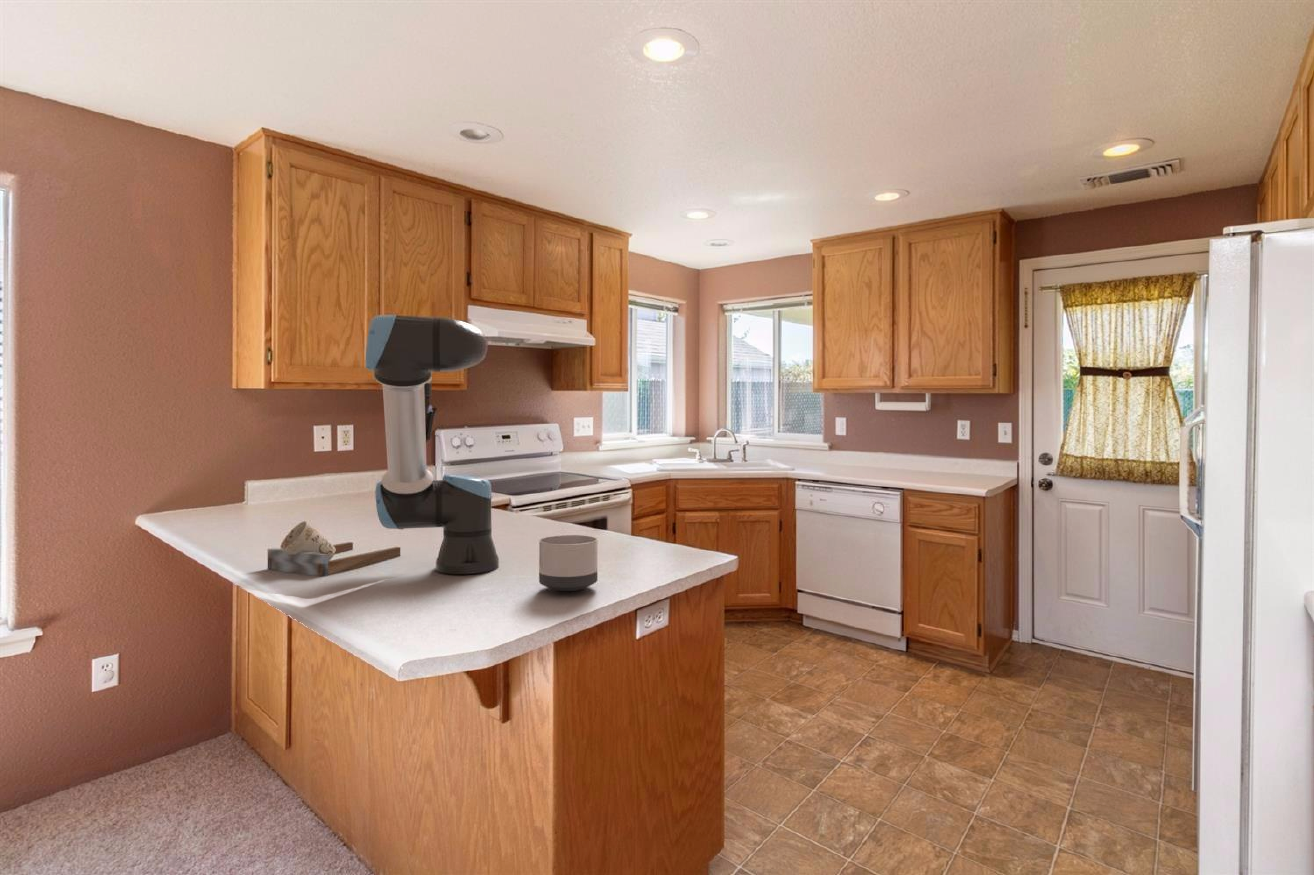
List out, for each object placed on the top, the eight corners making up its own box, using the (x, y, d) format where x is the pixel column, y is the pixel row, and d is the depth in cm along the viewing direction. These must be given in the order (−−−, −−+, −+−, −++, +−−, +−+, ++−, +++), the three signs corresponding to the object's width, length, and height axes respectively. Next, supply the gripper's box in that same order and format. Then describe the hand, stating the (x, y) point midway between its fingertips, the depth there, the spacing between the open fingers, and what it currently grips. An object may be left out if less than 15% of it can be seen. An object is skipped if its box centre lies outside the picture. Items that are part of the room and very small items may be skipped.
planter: (545, 579, 153) (545, 534, 153) (600, 580, 153) (600, 535, 153) (533, 593, 140) (533, 544, 140) (593, 594, 140) (593, 544, 140)
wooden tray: (400, 558, 177) (400, 539, 177) (322, 576, 155) (322, 555, 155) (348, 552, 185) (348, 534, 185) (267, 569, 163) (267, 548, 163)
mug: (329, 567, 161) (294, 543, 156) (298, 580, 166) (264, 558, 161) (344, 540, 167) (311, 516, 162) (314, 553, 172) (282, 531, 167)
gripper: (424, 384, 195) (424, 464, 195) (389, 381, 183) (389, 466, 183) (443, 383, 192) (443, 464, 192) (410, 380, 180) (410, 467, 180)
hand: (417, 465), depth 187 cm, fingers closed
